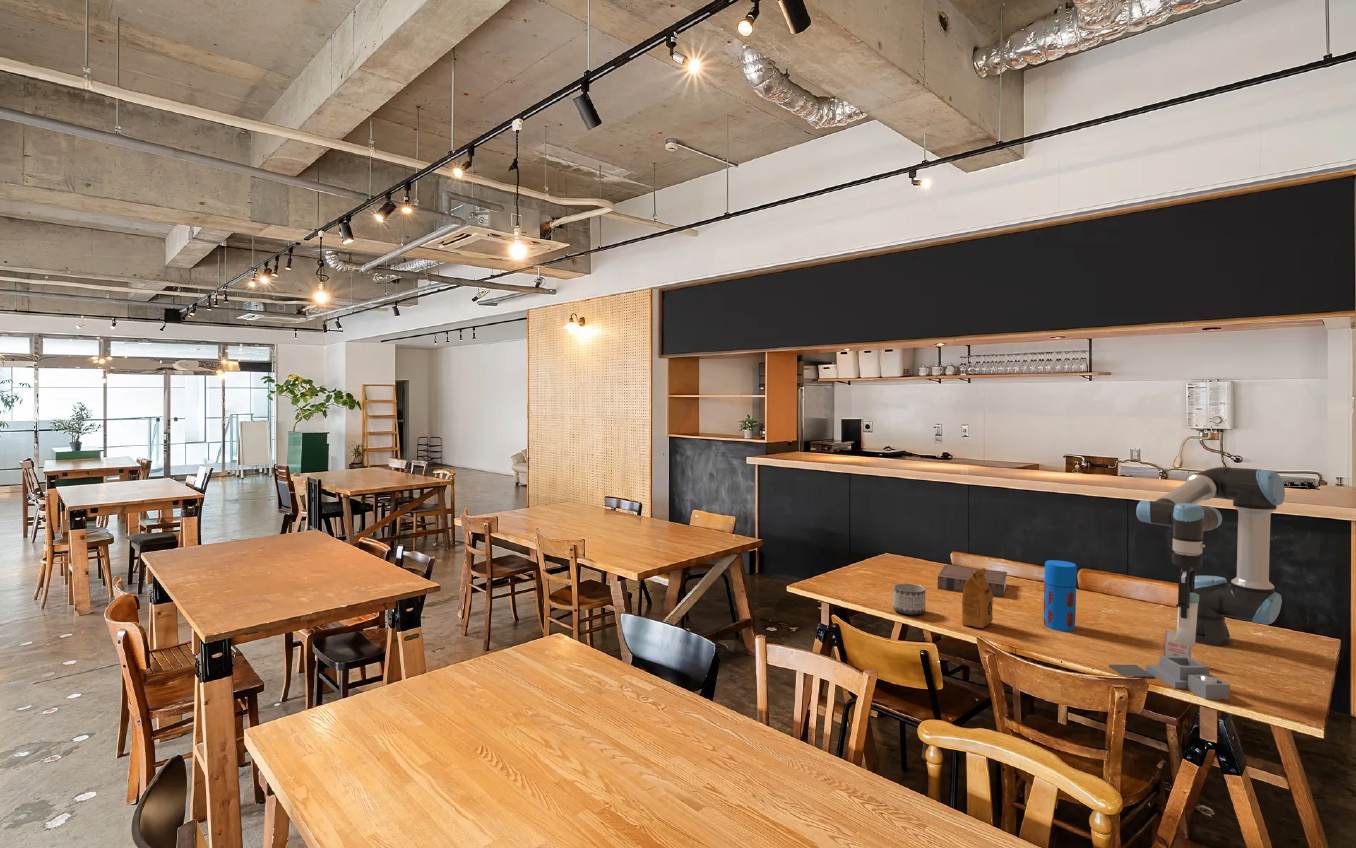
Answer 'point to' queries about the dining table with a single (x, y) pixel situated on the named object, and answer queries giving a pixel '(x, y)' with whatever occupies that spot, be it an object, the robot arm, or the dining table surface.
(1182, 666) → the housing
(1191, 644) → the white and teal cylinder
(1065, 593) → the thermos
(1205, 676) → the shiny grey domed cylinder
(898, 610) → the planter
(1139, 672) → the mat
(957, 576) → the book
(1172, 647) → the white printed box
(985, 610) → the coffee package
